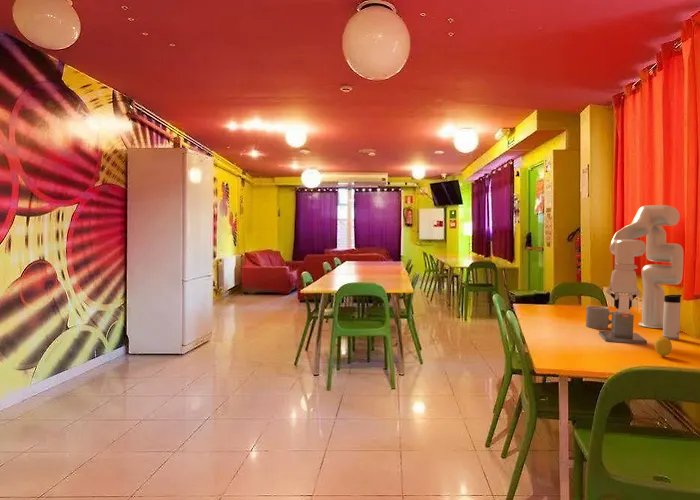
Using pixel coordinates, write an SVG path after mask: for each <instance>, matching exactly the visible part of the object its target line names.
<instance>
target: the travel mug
mask: <svg viewBox="0 0 700 500" xmlns="http://www.w3.org/2000/svg"><path fill="white" fill-rule="evenodd" d="M681 297H682V294H665V297H664V299H665V300H664V316H663V328H662V337H663V336H664V337H666V338H668V339H669V340H670V341H671V340H672V341H676V340H677V341H678V340H680V328H681V327H680V323H681V306H682V305H681V303H682V302H681Z"/></svg>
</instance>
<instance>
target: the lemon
mask: <svg viewBox="0 0 700 500" xmlns="http://www.w3.org/2000/svg"><path fill="white" fill-rule="evenodd" d="M654 349H655V352H656V353H657V354H658V355H660V356H661V357H663V358H664V357H666V356H668V355H670V354H671V352H672V349H673V345H672V342H671V340H670V339H668V338H666V337H664V336H663V335H662V336H661V337H659V338H657V339H656V340H655V343H654Z"/></svg>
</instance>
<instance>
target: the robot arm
mask: <svg viewBox="0 0 700 500" xmlns="http://www.w3.org/2000/svg"><path fill="white" fill-rule="evenodd" d="M680 215H681V214H680V212H679V210H678V209H677V208H676V207H674V206H671V205H666V204H654V205H653V204H649V205H647V204H646V205H643V206H641V207H639V208H638V209H637V211H636V213H635V215H634V217H633V219H632V221H631V223H630V224H628V225H626V226H624V227H622V228H621V229H619V230H618V231H617V232H615V233H614V235H613V237H612V239H611V242H610V244H609V252H610V253H611V254H612V255H613V256H614V269H613V270H612V272H611V276H610V284H609V287H608V288H607V289H606V291H605V292H606V293H607V294H608V295H609V296H611V298H613V301H614V302H613V306H614V307H615V309H616V310H617V309H618V308H619V300H618V295H619V294H627V295H629V310H631V308H632V307H633V306H632V305H633V300H634V299H636V298H637V297H638V296H640V295H642V306H641V307H642V308H641V309H642V310H641V311H642V312H641V321H638V326H639V327H643V328H649V329H663V316H664V300H665V299H664V297H665V296H666V293H665V290H664V288H663V286H661V285H672V286H673V285H674V286H675V285H679V284H681V283H682V280H683V274H684V248H683V246H682V245H681V244H679V243H671V242H670V243H669V242H667V232H666V230H665V229H664V227H662V226H665V227H667V226H668V227H669V226H670V227H671V226H677V224H678V223H679V222H680V218H681V217H680ZM645 236H646V237H645ZM642 237H645V238H646V239H645V240H646V243H645V242H644V241H643V240H641V239H639V238H642ZM644 254H645V256H646V257H645V258H646V260H648V262H649V261H650V262H654V263H655V262H656V263H658V262H659V263H669V264H668V265H667V264H654V263H653V264H651V263H650V264H646V265H644V266H643V267H642V268H641V279H642V281H641V282H642V292H641V291H640V289H639V288H638V281H637V273H636V270H635V269H638V265H636V264H635V257H641V256H643V255H644Z"/></svg>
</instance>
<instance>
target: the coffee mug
mask: <svg viewBox="0 0 700 500" xmlns="http://www.w3.org/2000/svg"><path fill="white" fill-rule="evenodd" d="M585 311H586V312H585V313H586V314H585V319H586V320H585V327H586V328H590V329H595V330H597V329H598V330H607V329H609V325H611V324H612V319H609V317H610V315H612V312H613V311H611V310H610V308H609V307H608V306H607V307H606V306H601V305H586V310H585Z"/></svg>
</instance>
